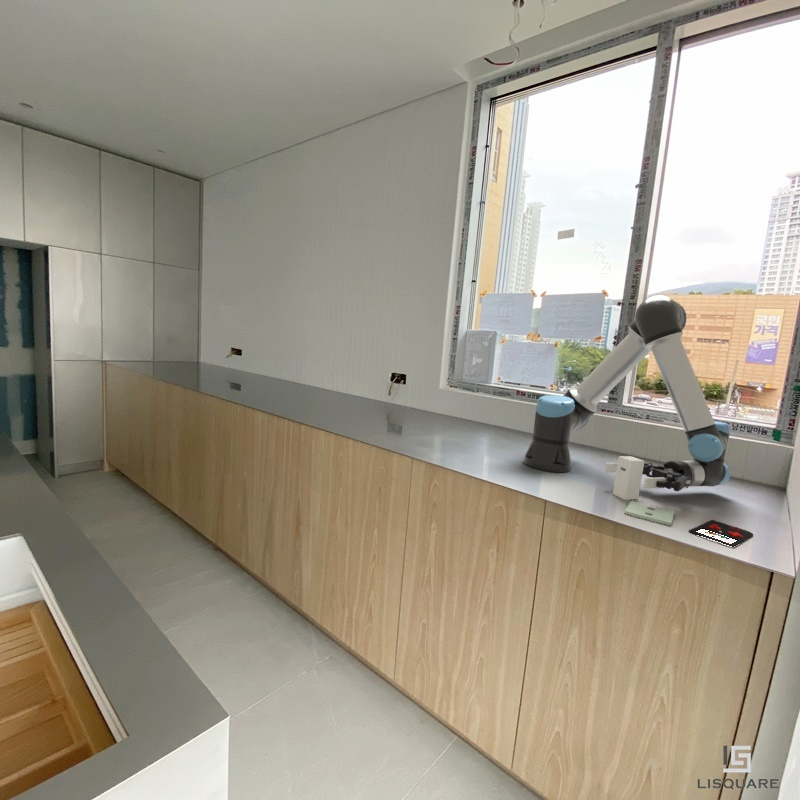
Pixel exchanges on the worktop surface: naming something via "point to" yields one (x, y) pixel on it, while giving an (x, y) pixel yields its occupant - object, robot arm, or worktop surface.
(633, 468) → the block
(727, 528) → the handheld gaming device
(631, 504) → the outlet plate
